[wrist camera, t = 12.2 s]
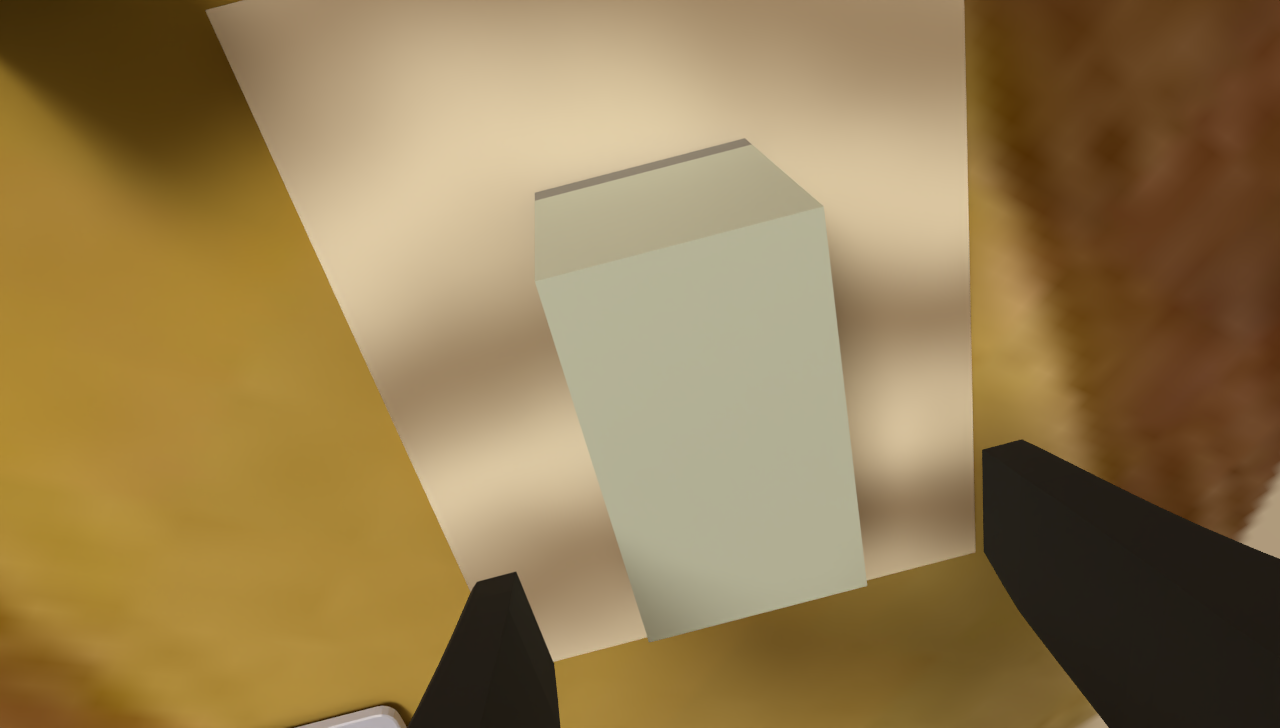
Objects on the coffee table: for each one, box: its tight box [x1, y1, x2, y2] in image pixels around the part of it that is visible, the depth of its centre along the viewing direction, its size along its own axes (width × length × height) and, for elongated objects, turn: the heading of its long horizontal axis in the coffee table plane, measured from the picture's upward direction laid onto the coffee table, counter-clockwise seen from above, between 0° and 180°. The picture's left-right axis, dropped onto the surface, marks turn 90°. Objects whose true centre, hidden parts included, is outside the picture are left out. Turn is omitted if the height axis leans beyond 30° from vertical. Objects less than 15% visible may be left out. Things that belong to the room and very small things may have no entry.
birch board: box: [205, 0, 975, 662], centre depth 19 cm, size 18×14×1 cm
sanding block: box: [535, 138, 867, 642], centre depth 16 cm, size 8×4×5 cm, turn 13°
